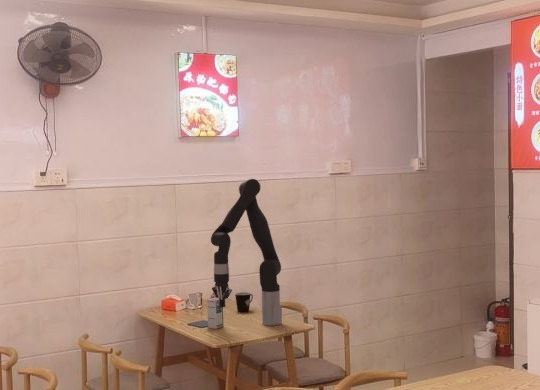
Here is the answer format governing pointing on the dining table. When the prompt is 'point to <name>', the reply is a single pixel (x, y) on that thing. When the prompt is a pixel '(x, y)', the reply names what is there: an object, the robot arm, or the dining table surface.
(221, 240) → the robot arm
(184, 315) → the dining table surface
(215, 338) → the dining table surface
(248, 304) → the coffee mug
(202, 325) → the mat
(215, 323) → the syrup box
